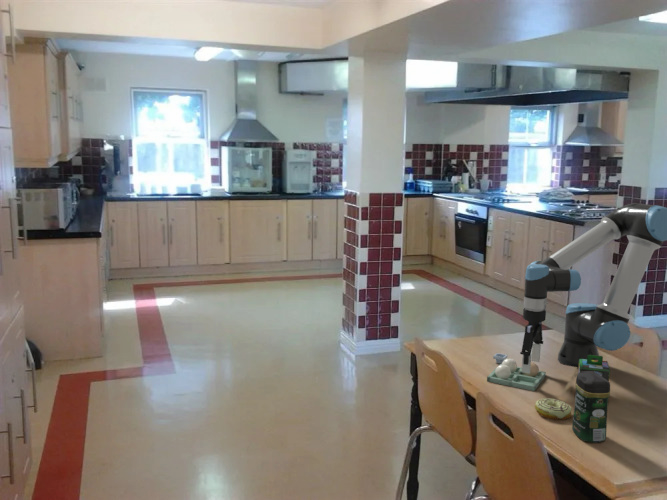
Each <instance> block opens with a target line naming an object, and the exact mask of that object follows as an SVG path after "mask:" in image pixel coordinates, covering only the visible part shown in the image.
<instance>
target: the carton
mask: <svg viewBox="0 0 667 500" xmlns="http://www.w3.org/2000/svg"><path fill="white" fill-rule="evenodd" d="M499 365H502V363H499ZM495 370H496V368H494V370H493V371H491V372H490V373H489V375H488V376H487V377H486V382H489V383H494V384H498V385H503V386H506V387H507V386H508V387H513V388H516V389H521V390H526V391H527V390H528V391H533V392H535V391H536V390H537V388H538V387H539V385H540V384H541V383H542V381H543V380H544V379H545V378H546V374H547V373H546V371H543V370H539V373H538V375H537V376H535V377H530V376H526V375H525V374H524V373H523V372H522V366H517V369H516V371H515V372H514V373H511V376H510V378H509V379H507V380H505V379H500V378H497V376H496V374H495Z"/></svg>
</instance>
